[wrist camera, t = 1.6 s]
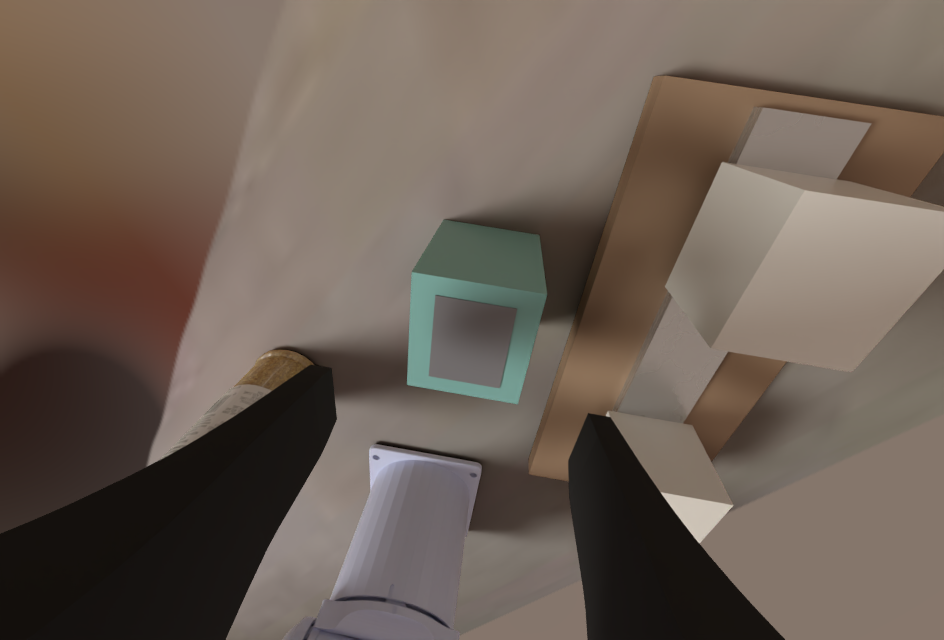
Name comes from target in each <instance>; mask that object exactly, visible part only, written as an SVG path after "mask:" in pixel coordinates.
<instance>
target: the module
mask: <svg viewBox="0 0 944 640" xmlns="http://www.w3.org/2000/svg"><path fill="white" fill-rule="evenodd" d="M546 297H547V289H546V281H545V274H544V266H543V259H542V251H541V244H540V236H539V235H536V234H530V233H524V232H518V231H512V230H505V229H499V228H493V227H487V226H481V225H475V224H468V223H462V222H456V221H450V220H443V222H442V223H441V225H440V227H439V228H438V230H437V231H436V233H435V235H434V236H433V238H432V240H431V241H430V243H429V245H428V246H427V248H426V250H425V251H424V253H423V254H422V256H421V258H420V259H419V261H418V263H417V264H416V266H415V268H414V269H413V271H412V278H411V302H410V325H409V348H408V371H407V385H410V386H416V387H422V388H428V389H433V390H439V391H445V392H451V393H456V394H462V395H468V396H473V397H479V398H485V399H491V400H496V401H502V402H508V403H514V404H518V401H519V398H520V394H521V390H522V386H523V383H524V379H525V375H526V372H527V368H528V364H529V360H530V357H531V353H532V349H533V346H534V342H535V338H536V334H537V331H538V327H539V323H540V320H541V316H542V312H543V308H544V305H545V301H546Z"/></svg>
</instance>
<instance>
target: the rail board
mask: <svg viewBox="0 0 944 640" xmlns="http://www.w3.org/2000/svg"><path fill="white" fill-rule="evenodd" d="M753 107H764V108H771V109H778V110H784V111H791V112H798V113H804V114H811V115H818V116H825V117H831V118H838V119H845V120H851V121H858V122H865V123H872V124H871V125H870V127H869V129H868V130H867V132H866V133H865V135H864V137H863V138H862V140H861V141H860V143H859V144H858V146H857V148H856V149H855V151H854V152H853V154H852V156H851V157H850V159H849V160H848V162H847V164H846V165H845V167H844V168H843V170H842V171H841V173H840V175H839V176H838V178H837V180H844V181H850V182H854V183H858V184H862V185H865V186H869V187H873V188H877V189H880V190H884V191H888V192H891V193H895V194H899V195H903V196H906V197H911V195H912V194H913V193H914V191H915V190H916V189H917V187H918V186H919V185H920V183H921V182H922V181H923V179H924V178H925V177H926V175H927V174H928V173H929V171H930V170H931V169H932V167H933V166H934V165H935V163H936V162H937V161H938V159H939V158H940V157H941V155H942V154H943V153H944V117H943V116H937V115H930V114H923V113H916V112H909V111H903V110H896V109H889V108H882V107H875V106H869V105H862V104H855V103H848V102H842V101H835V100H828V99H821V98H814V97H808V96H801V95H794V94H787V93H781V92H774V91H767V90H760V89H753V88H747V87H740V86H733V85H726V84H719V83H713V82H706V81H699V80H692V79H686V78H679V77H672V76H665V75H664V76H655V77H654V78H653V81H652V84H651V87H650V90H649V93H648V96H647V99H646V102H645V105H644V108H643V111H642V114H641V117H640V120H639V123H638V126H637V129H636V132H635V136H634V139H633V142H632V145H631V148H630V151H629V154H628V157H627V160H626V163H625V166H624V169H623V172H622V175H621V178H620V181H619V184H618V187H617V190H616V194H615V197H614V200H613V203H612V206H611V209H610V212H609V215H608V218H607V221H606V224H605V227H604V230H603V233H602V236H601V239H600V242H599V245H598V248H597V252H596V255H595V258H594V261H593V264H592V267H591V270H590V273H589V276H588V279H587V282H586V285H585V288H584V291H583V294H582V297H581V300H580V303H579V306H578V310H577V313H576V316H575V319H574V322H573V325H572V328H571V331H570V334H569V337H568V340H567V343H566V346H565V349H564V352H563V355H562V358H561V361H560V365H559V368H558V371H557V374H556V377H555V380H554V383H553V386H552V389H551V392H550V395H549V398H548V401H547V404H546V407H545V410H544V413H543V416H542V419H541V423H540V426H539V429H538V432H537V435H536V438H535V441H534V444H533V447H532V450H531V453H530V456H529V474H530V475H535V476H541V477H546V478H552V479H557V480H563V481H569V477H568V460H569V457H570V455H571V452H572V450H573V448H574V445H575V443H576V441H577V438H578V436H579V433H580V431H581V429H582V426H583V424H584V421H585V419H586V417H587V414H588V413H591V414H596V415H602V416H606V414H607V412H608V411H612V409H613V407H614V405H615V403H616V401H617V399H618V396H619V394H620V392H621V390H622V388H623V386H624V384H625V381H626V379H627V377H628V375H629V373H630V371H631V369H632V366H633V364H634V362H635V360H636V358H637V356H638V354H639V351H640V349H641V347H642V345H643V343H644V341H645V339H646V336H647V334H648V332H649V330H650V328H651V326H652V324H653V321H654V319H655V317H656V315H657V313H658V311H659V309H660V306H661V304H662V302H663V300H664V298H665V296H666V294H667V291H668V290H667V289H666V287H665V285H666V283H667V281H668V279H669V276H670V274H671V272H672V270H673V268H674V266H675V263H676V261H677V259H678V257H679V255H680V252H681V250H682V248H683V246H684V244H685V242H686V239H687V237H688V235H689V233H690V231H691V228H692V226H693V224H694V222H695V220H696V218H697V215H698V213H699V211H700V209H701V207H702V205H703V202H704V200H705V198H706V196H707V194H708V191H709V189H710V187H711V185H712V183H713V181H714V178H715V176H716V174H717V172H718V170H719V167H720V165H721V163H722V162H727V163H728V161H729V159H730V156H731V154H732V152H733V150H734V148H735V146H736V144H737V141H738V139H739V137H740V135H741V133H742V131H743V129H744V126H745V124H746V122H747V120H748V118H749V116H750V114H751V111H752V109H753ZM786 362H787V361H782V360H776V359H770V358H764V357H758V356H752V355H746V354H740V353H734V352H728V353H727V354H726V356H725V357H724V359H723V361H722V362H721V364H720V365H719V367H718V369H717V370H716V372H715V373H714V375H713V376H712V378H711V380H710V381H709V383H708V384H707V386H706V388H705V389H704V391H703V392H702V394H701V396H700V397H699V399H698V400H697V402H696V403H695V405H694V407H693V408H692V410H691V411H690V413H689V415H688V416H687V418H686V419H685V421H684V423H683V424H689V425H692V426H693V427H694V429H695V431H696V433H697V435H698V437H699V439H700V441H701V443H702V445H703V447H704V449H705V451H706V453H707V455H708V457H709V459H710V461H711V462H712V460H713V459H714V458H715V456H716V455H717V454H718V452H719V451H720V450H721V448H722V447H723V446H724V444H725V443H726V442H727V440H728V439H729V438H730V437H731V435H732V434H733V433H734V431H735V430H736V429H737V427H738V426H739V425H740V423H741V422H742V421H743V419H744V418H745V417H746V415H747V414H748V413H749V411H750V410H751V409H752V407H753V406H754V405H755V403H756V402H757V401H758V399H759V398H760V397H761V395H762V394H763V393H764V391H765V390H766V389H767V387H768V386H769V385H770V383H771V382H772V381H773V379H774V378H775V377H776V375H777V374H778V373H779V371H780V370H781V369H782V367H783V366H784V365H785V363H786Z"/></svg>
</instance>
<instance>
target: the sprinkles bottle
mask: <svg viewBox="0 0 944 640" xmlns="http://www.w3.org/2000/svg"><path fill="white" fill-rule="evenodd" d="M310 364H311V365H314V364H313V363H312V362H311V361H310V360H309V359H307V358H306V357H304V356H302V355H300V354H298V353H297V352H293V351H289V350H271V351H268V352H267V353H264V354H263V355H262V356H261V357H260V358H258V360H257V361H256V363H255V366H254V367H253V368H252V369H251V370H250V371H249V372H248V373H247V374H246V375H245V376H244V377H243V378H242V379H241V380H240V381H239V382H238V383H237V384H236V385H235V386H234V387H233V388H231V389H229V390H228V391H227V392H226V393H225V394H224V395H223V396H222V397H221V398H220V399H219V400H218V401H217V402H216V403H215V404H214V405H213V406H212V407H211V408H210V409H209V410H208V411H207V412H206V413H205V414H204V415H203V416H202V417H201V418H200V419H199V420H198V421H197V422H196V423H195V424H194V425H193V426H192V427H191V429H190V430H189V431H188V432H187V433H186V434H185V435H184V436H183V437H182V438H181V439H180V440H179V441H178V442H177V443H176V444H175V445H174V446H173V447H172V448H171V449H170V450H169V451H168V452H167V453H166V454H165V455H164V456H163V457H162V458H161V459H163V458H165V457H167V456H168V455H170V454H172V453H174V452H176V451H177V450H179V449H181V448H183V447H185V446H186V445H188V444H190V443H191V442H193V441H195V440H197V439H198V438H200V437H201V436H203V435H205V434H206V433H208V432H210V431H211V430H213V429H214V428H216V427H218V426H219V425H221V424H222V423H224V422H226V421H227V420H229V419H231V418H232V417H234V416H235V415H237V414H238V413H240V412H241V411H243V410H244V409H246V408H247V407H249V406H250V405H252V404H253V403H255V402H256V401H258V400H259V399H261V398H262V397H264V396H265V395H267V394H268V393H270V392H271V391H272V390H274V389H275V388H277V387H278V386H280V385H281V384H283V383H284V382H285V381H287V380H288V379H290V378H291V377H293V376H294V375H296V374H297V373H299V372H300V371H301V370H303V369H304V368H306V367H307V366H309V365H310ZM161 459H160V460H161Z"/></svg>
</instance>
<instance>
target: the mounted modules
mask: <svg viewBox="0 0 944 640" xmlns="http://www.w3.org/2000/svg"><path fill="white" fill-rule="evenodd" d="M943 270H944V207H943V206H940V205H936V204H932V203H928V202H925V201H921V200H917V199H914V198H910V197H906V196H903V195H899V194H895V193H891V192H888V191H884V190H880V189H877V188H873V187H869V186H865V185H862V184H858V183H854V182H850V181H844V180H837V179H831V178H824V177H818V176H811V175H805V174H798V173H792V172H785V171H779V170H772V169H766V168H759V167H753V166H746V165H740V164H733V163H727V162H722V163H721V165H720V167H719V170H718V172H717V174H716V176H715V178H714V181H713V183H712V185H711V187H710V189H709V191H708V194H707V196H706V198H705V200H704V202H703V205H702V207H701V209H700V211H699V213H698V215H697V218H696V220H695V222H694V224H693V226H692V228H691V231H690V233H689V235H688V237H687V239H686V242H685V244H684V246H683V248H682V250H681V252H680V255H679V257H678V259H677V261H676V263H675V266H674V268H673V270H672V272H671V274H670V276H669V279H668V281H667V283H666V285H665V287H666V289H667V290H668V292H669V293H670V294H671V296H672V297H673V298H674V300H675V301H676V302H677V304H678V305H679V306H680V308H681V309H682V310H683V312H684V313H685V315H686V316H687V317H688V319H689V320H690V321H691V323H692V324H693V325H694V327H695V328H696V329H697V331H698V332H699V333H700V335H701V336H702V337H703V339H704V340H705V342H706V343H707V344H708V346H709V347H710V348H711V349H716V350H722V351H728V352H734V353H740V354H746V355H752V356H758V357H764V358H770V359H776V360H782V361H787V362H793V363H799V364H805V365H811V366H817V367H823V368H829V369H835V370H841V371H847V372H853V371H854V369H855V368H856V367H857V366H858V365H859V364H860V363H861V362H862V361H863V359H864V358H865V357H866V356H867V355H868V354H869V353H870V352H871V350H872V349H873V348H874V347H875V346H876V345H877V344H878V343H879V341H880V340H881V339H882V338H883V337H884V336H885V335H886V334H887V332H888V331H889V330H890V329H891V328H892V327H893V326H894V325H895V323H896V322H897V321H898V320H899V319H900V318H901V317H902V316H903V314H904V313H905V312H906V311H907V310H908V309H909V308H910V307H911V305H912V304H913V303H914V302H915V301H916V300H917V299H918V298H919V296H920V295H921V294H922V293H923V292H924V291H925V290H926V289H927V288H928V286H929V285H930V284H931V283H932V282H933V281H934V280H935V279H936V277H937V276H938V275H939V274H940V273H941V272H942V271H943ZM606 416H608V417H611V419H612V420H613V422H614V423H615V425H616V426H617V428H618V429H619V431H620V432H621V434H622V435H623V437H624V439H625V440H626V442H627V443H628V445H629V446H630V448H631V449H632V451H633V452H634V454H635V455H636V457H637V459H638V460H639V462H640V463H641V465H642V466H643V468H644V469H645V471H646V472H647V473H648V475H649V476H650V478H651V479H652V481H653V482H654V484H655V485H656V486H657V488H658V489H659V491H660V492H661V494H662V495H663V496H664V498H665V499H666V501H667V502H668V503H669V505H670V506H671V508H672V509H673V510H674V512H675V513H676V514H677V516H678V517H679V518H680V519H681V521H682V522H683V523H684V525H685V526H686V527H687V529H688V530H689V531H690V533H691V534H692V535H693V536H694V538H695V539H696V540H697V541H698V543H700V542H701V541H702V540H703V539H704V538H705V537H706V536H707V535H708V533H709V532H710V531H711V530H712V529H713V528H714V527H715V526H716V524H717V523H718V522H719V521H720V520H721V519H722V518H723V517H724V515H725V514H726V513H727V512H728V511H729V510H730V509H731V508H732V507H733V503H732V501H731V499H730V497H729V496H728V494H727V492H726V490H725V488H724V486H723V484H722V482H721V480H720V478H719V476H718V474H717V472H716V470H715V468H714V466H713V464H712V462H711V461H710V459H709V457H708V455H707V453H706V451H705V449H704V447H703V445H702V443H701V441H700V439H699V437H698V435H697V433H696V431H695V429H694V427H693V426H692V425H689V424H683V423H677V422H671V421H666V420H660V419H654V418H648V417H643V416H637V415H631V414H625V413H620V412H614V411H608V412H607V414H606Z"/></svg>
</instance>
